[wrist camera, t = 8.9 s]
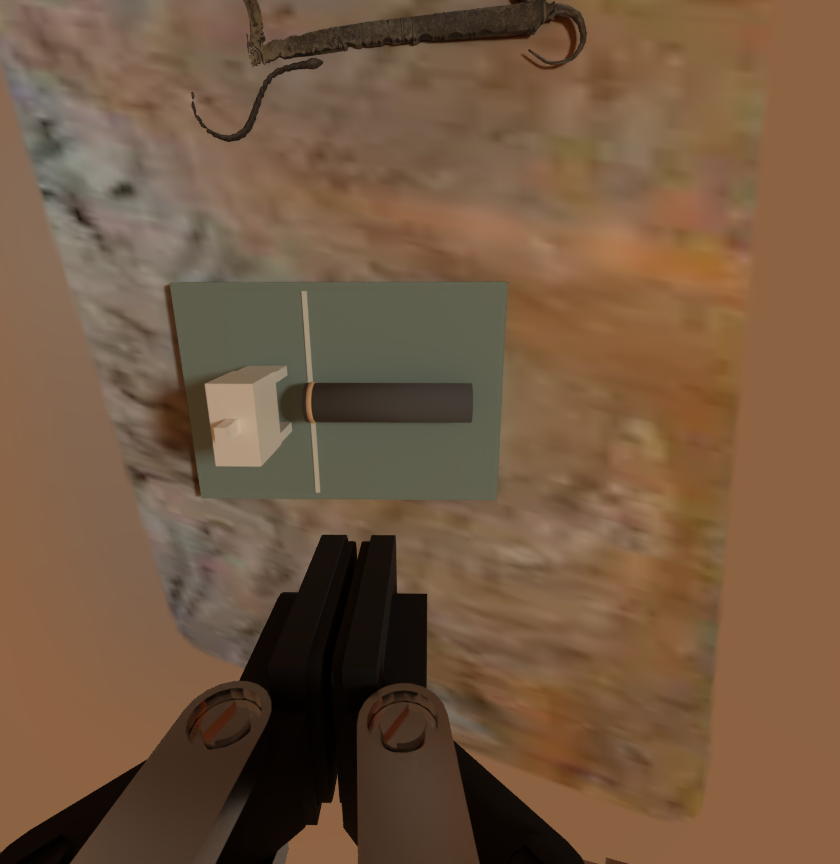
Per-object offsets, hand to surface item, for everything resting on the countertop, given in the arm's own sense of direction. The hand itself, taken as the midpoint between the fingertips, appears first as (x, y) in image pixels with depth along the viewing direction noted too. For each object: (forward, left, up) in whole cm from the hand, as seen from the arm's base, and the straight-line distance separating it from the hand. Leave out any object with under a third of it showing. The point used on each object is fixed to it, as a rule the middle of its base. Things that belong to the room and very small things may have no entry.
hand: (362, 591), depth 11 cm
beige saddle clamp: (0, -8, -20) cm, 22 cm away
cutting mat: (0, -4, -21) cm, 22 cm away
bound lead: (0, -1, -20) cm, 20 cm away
